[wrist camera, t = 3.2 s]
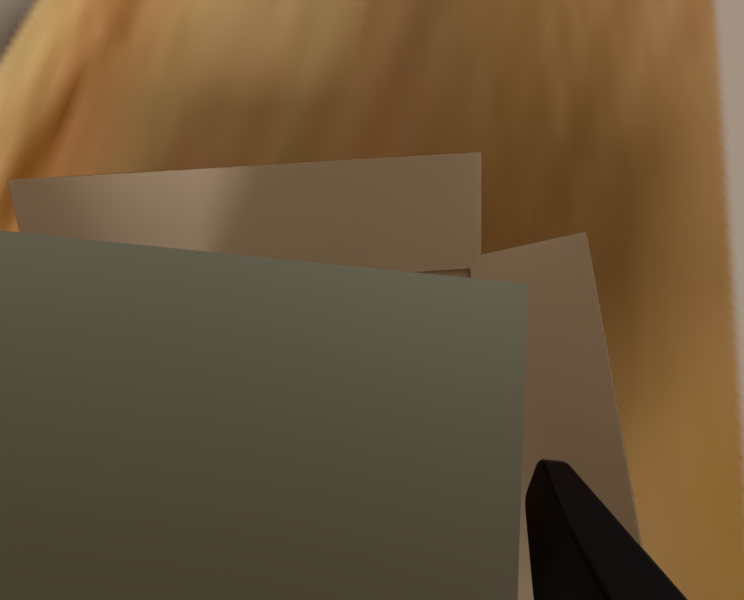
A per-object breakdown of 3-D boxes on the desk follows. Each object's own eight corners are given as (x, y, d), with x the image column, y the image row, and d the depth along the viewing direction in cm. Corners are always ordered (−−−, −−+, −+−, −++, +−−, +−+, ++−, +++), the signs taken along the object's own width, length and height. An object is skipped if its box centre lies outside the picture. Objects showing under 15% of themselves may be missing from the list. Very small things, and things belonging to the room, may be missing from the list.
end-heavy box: (375, 591, 14) (483, 1693, 2) (187, 572, 14) (-978, 1544, 2) (391, 401, 16) (527, 283, 3) (218, 383, 16) (-373, 193, 3)
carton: (571, 671, 14) (696, 815, 9) (22, 725, 14) (-191, 913, 8) (508, 229, 17) (575, 140, 12) (50, 259, 16) (-96, 180, 11)
